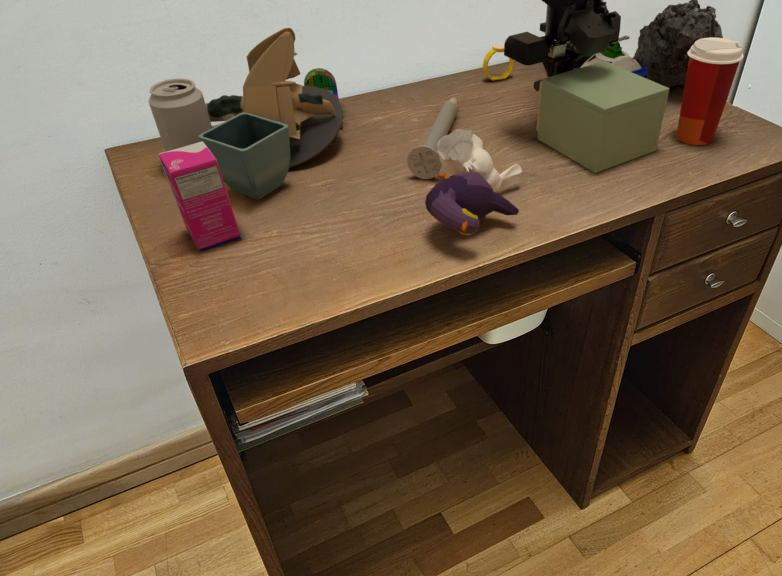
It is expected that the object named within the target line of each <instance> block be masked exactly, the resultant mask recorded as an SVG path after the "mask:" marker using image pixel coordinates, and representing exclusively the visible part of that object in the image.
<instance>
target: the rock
mask: <svg viewBox="0 0 782 576" xmlns="http://www.w3.org/2000/svg"><path fill="white" fill-rule="evenodd" d="M716 12H717V11H716V8H715V7H714V6H711V5H707V6H706V7H705V8H701V4H700V3H699V0H689V1H688V2H684V3H682V2H680V3H677V4H668V5H667V6H666V7H665V8H664V9H663V10H662V11H661V12H658V13H657V15H656V16H655V18H654V19H653V20H652V21H650V22H649V24H648V25H644V26H643V27H642V28H641V29H639V36H638V39H637V48H636V50H635V52H634V55H633V57H632V58H633V59H635V60H636V61H637V62H638V63H639V64H641V65H642V66H643V67H645V68H646V69H647V70H648V72H649V73H648V79H649V80H651V81H653V82H656V83H658V84H660V85H663V86H665V87H667V88H672V87H675V86H677V85H678V86H679V87H680V86H685V81H686V75H687V70H688V64H689V58H690V57H689V56H688V54H687V52H688V51H689V50H690V49H691V46H692V45H694V43H695V41H697V40H699V39H702V38H724V36H723V31H722V27H721V25H720V24H719V22H718V21H717V20H716V18H717V14H716Z"/></svg>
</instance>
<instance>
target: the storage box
mask: <svg viewBox="0 0 782 576" xmlns="http://www.w3.org/2000/svg"><path fill="white" fill-rule="evenodd" d="M541 79H542V89H541V102H540V115H539V128H538V131H537V140H538V141H540V142H541V143H543V144H545V145H546V146H548V147H550V148H552V149H553V150H555V151H557V152H558V153H560V154H562V155H564V156H565V157H567V158H569V159H570V160H572V161H574V162H575V163H577V164H579V165H581V166H582V167H584V168H585V169H587V170H589V171H591V172H593V173H594V174H597V173H599V172H602V171H605V170H607V169H610V168H613V167H616V166H618V165H621V164H625V163H626V162H629V161H632V160H635V159H637V158H640V157H642V156H645V155H648V154H650V153H653V152H656V151H657V150H658V145H659V140H660V136H661V130H662V126H663V122H664V117H665V112H666V108H667V102H668V98H669V93H670V87H668V88H667V87H665V86H663V85H660V84H658V83H656V82H653V81H651V80H649V79H646V78H644V77H641V76H639V75H637V74H634V73H632V72H630V71H627V70H625V69H622V68H620V67H618V66H615V65H613V64H611V63H608V62H606V61H603V62H600V63H596V64H593V65H589V66H586V67H582V68H579V69H575V70H572V71H568V72H565V73H561V74H558V75H554V76H550V77H548V76H547V77H544V78H543V77H542V78H541Z"/></svg>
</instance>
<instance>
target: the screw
mask: <svg viewBox="0 0 782 576" xmlns="http://www.w3.org/2000/svg"><path fill="white" fill-rule="evenodd" d="M457 104H458V99H457V98H456V97H451V98H450V99H449V100H445V101H444V102H443V104H442V106H441V108H440V110H439V112H438V114H437V116H436V118H435V120H434V121H433V124H432V126H431V128H430V130H429V132H428V134H427V135H426V137H425V139H424V141H423V143H422V145H417V146H415V147H413V148H412V149H411V150H410V152H409V153H408V155H407V167H408V169H409V171H410V172H411V174H412V175H414V176H415V177H416V178H419V179H421V180H431V179H434V178H435V177H437V176H438V175H437V174H440V172H441V169H442V163H441V161H440V158H439V154H438V153H437V144H438V141H439V140H440V139H441V138H442V137H443V136H445V135H449V132H450V129H451V127H452V125H453V123H454V121H455V119H456V116H457V114H458V110H459V109H458V106H457Z"/></svg>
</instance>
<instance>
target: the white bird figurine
mask: <svg viewBox="0 0 782 576" xmlns="http://www.w3.org/2000/svg"><path fill="white" fill-rule="evenodd" d="M437 153H438V154H439V158H440V161H441V163H442V164H441V166H442V167H443V168H444V170H445V171H446V172H447V173H448V174H449V175H450V176H452V175H453V174H454V175H456V174H461V173H466V172H477V173H479V174H480V175H481V176H482V177H483V178H484V179H485V180H486V181H487V182H488V183H489V184H490V185H491V187H492V189H493V191H494V192H496V193H497V191H499V190H500V188H501V187H502V183H504V182H507V181H508V180H511V179H513V178H514V177H516V176H518V175H522V172H523V168H522V167H521V165H520V164H518V163H514V164H513V165H511V166H510V167H508V168H507V169H505V170H504V171H502V172H501V173H499V172H498V170H497V169H496V168H495V166H494V162H493V159H492V157H491V156H490V154H489V152H488V151H487V150H486V149H484V142H483V140H482V139H481V138H480V137H479V136H478V135H476V134H475V133H474V130H472V129H463V128H456V129H454V130H453V131H452V132H451V133H448V134H447V135H445V136H443V137H442V138H441V139H440V140H439V141H438V144H437Z"/></svg>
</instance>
